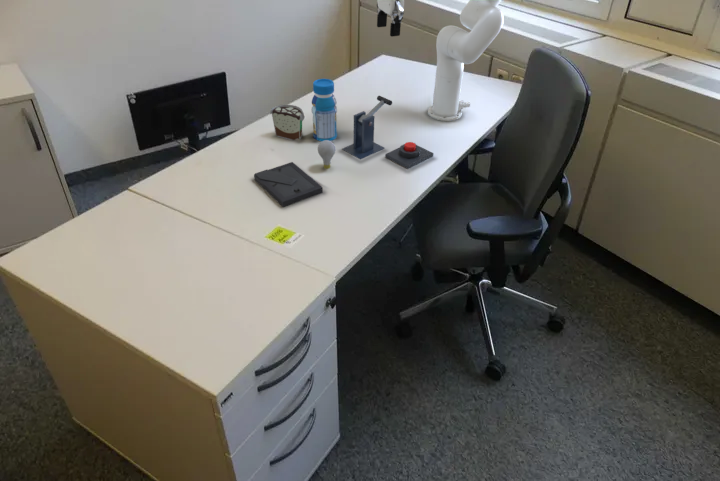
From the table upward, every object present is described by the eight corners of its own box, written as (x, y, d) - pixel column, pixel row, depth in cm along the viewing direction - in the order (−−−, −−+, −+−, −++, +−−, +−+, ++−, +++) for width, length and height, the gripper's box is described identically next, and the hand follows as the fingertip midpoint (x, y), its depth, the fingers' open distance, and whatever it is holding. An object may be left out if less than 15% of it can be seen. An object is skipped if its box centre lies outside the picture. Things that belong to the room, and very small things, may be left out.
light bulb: (329, 176, 168) (328, 147, 161) (315, 171, 170) (313, 142, 164) (339, 168, 171) (338, 139, 165) (325, 163, 173) (324, 135, 167)
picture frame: (254, 179, 165) (283, 207, 154) (253, 173, 164) (282, 200, 153) (292, 167, 171) (322, 192, 160) (292, 160, 170) (322, 186, 159)
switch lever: (381, 99, 178) (379, 93, 176) (393, 104, 175) (391, 98, 173) (356, 123, 175) (354, 118, 173) (368, 129, 172) (365, 124, 170)
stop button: (409, 145, 176) (409, 140, 175) (417, 149, 174) (418, 144, 173) (401, 149, 174) (402, 144, 173) (410, 153, 172) (410, 148, 171)
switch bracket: (366, 141, 186) (366, 106, 178) (384, 150, 180) (386, 115, 172) (341, 151, 180) (341, 116, 172) (360, 162, 174) (361, 125, 167)
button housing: (410, 147, 182) (411, 137, 180) (432, 159, 177) (434, 148, 174) (385, 159, 176) (385, 148, 173) (407, 171, 170) (408, 160, 168)
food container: (312, 135, 188) (310, 108, 182) (303, 142, 184) (301, 115, 178) (281, 127, 192) (279, 101, 186) (272, 135, 188) (269, 108, 182)
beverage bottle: (325, 146, 182) (323, 89, 170) (307, 138, 187) (304, 82, 174) (342, 138, 187) (342, 82, 175) (325, 130, 191) (323, 75, 179)
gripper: (416, -22, 157) (411, 38, 167) (390, -35, 169) (387, 22, 180) (393, -21, 154) (389, 40, 165) (368, -34, 167) (366, 24, 177)
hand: (388, 31), depth 172 cm, fingers open, 9 cm apart
